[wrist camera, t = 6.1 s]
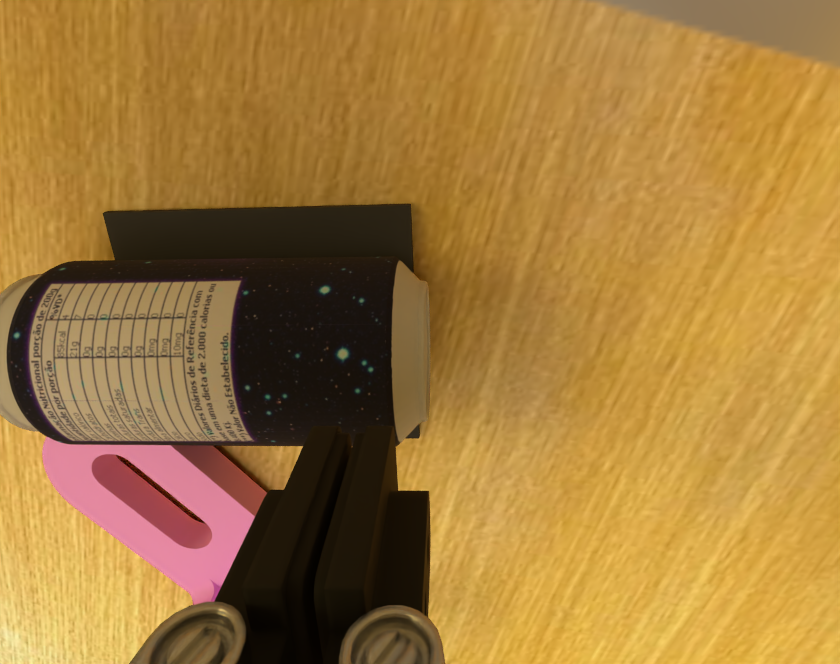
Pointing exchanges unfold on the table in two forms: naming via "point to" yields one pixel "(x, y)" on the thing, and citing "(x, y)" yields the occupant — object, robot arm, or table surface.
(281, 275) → the beverage can
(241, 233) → the rubber mat
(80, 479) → the bracket
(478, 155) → the table surface
